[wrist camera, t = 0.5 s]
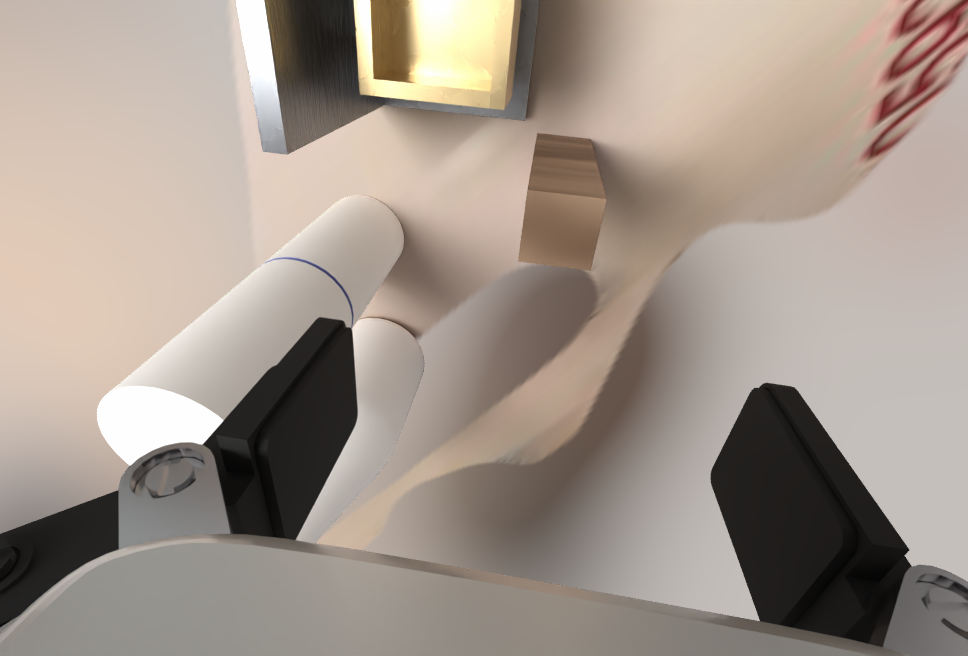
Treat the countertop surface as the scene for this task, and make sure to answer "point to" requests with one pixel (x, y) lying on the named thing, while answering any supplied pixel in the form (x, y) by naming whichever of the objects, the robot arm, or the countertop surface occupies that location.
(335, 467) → the wine bottle
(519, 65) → the cup bracket
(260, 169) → the countertop surface
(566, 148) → the rail post
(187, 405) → the cylindrical container
